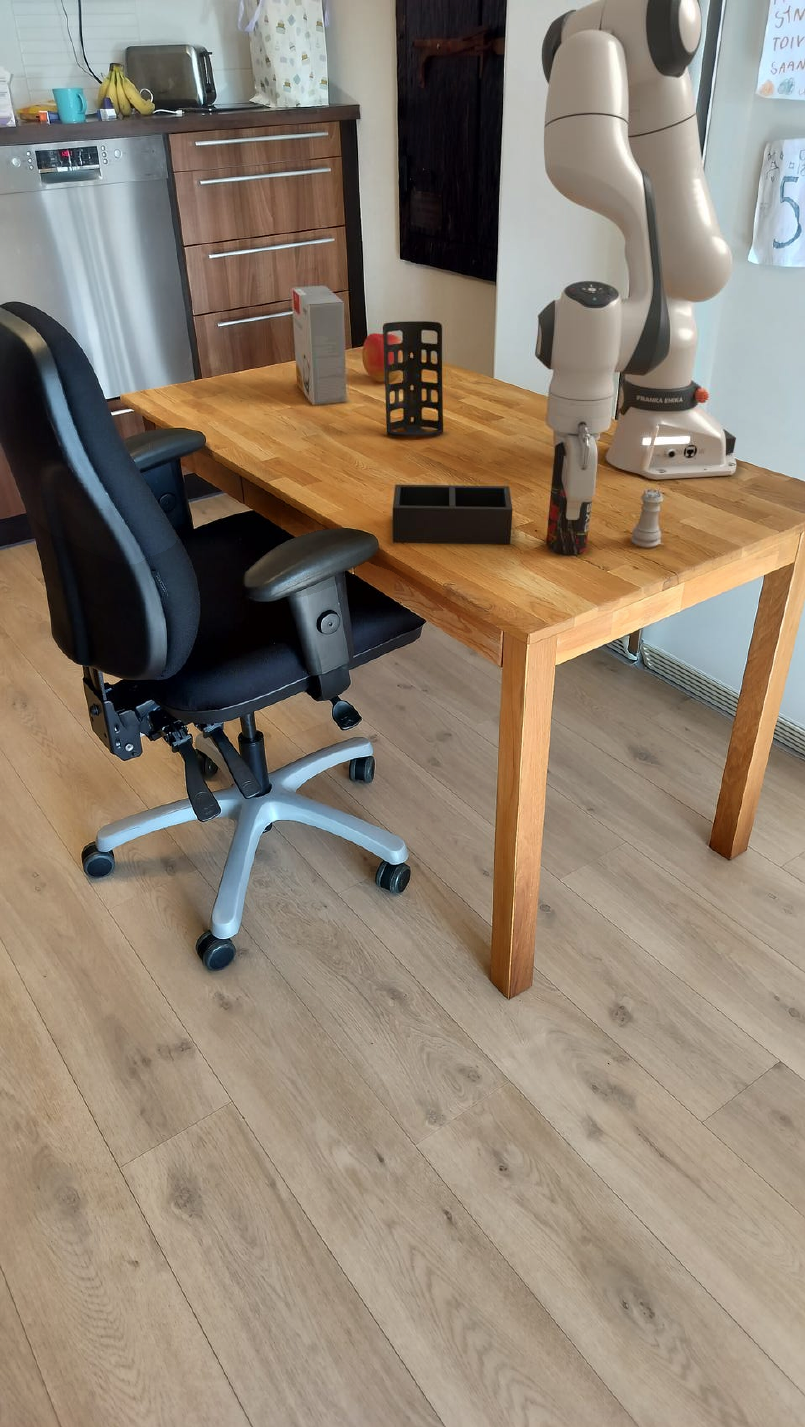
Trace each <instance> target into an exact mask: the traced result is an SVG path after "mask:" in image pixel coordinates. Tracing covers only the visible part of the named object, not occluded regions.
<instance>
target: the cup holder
mask: <svg viewBox="0 0 805 1427" xmlns="http://www.w3.org/2000/svg"><path fill="white" fill-rule="evenodd" d="M393 490H394V492H393V501H392V543H393V544H434V545H435V544H437V545H442V544H443V545H492V546H495V545H497V546H499V545H501V546H511V539H512V524H513V512H514V511H513V510H514V509H513V504H512V503H513V502H512V497H511V488H510V486H509V485H466V484H465V485H462V484H461V485H460V484H458V485H456V484H453V485H451V484H443V485H442V484H397V483H396V484H394V489H393Z"/></svg>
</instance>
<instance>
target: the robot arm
mask: <svg viewBox="0 0 805 1427" xmlns="http://www.w3.org/2000/svg"><path fill="white" fill-rule="evenodd" d="M702 17H703V16H702V10H701V4H700V0H597V1H593V2H592V3H589V4H587V5H585V6H582V7H581V8H579V9H571V10H568V11H567V12H564V13H563V14H561V15H560V16H558V17H556V19H554V20H553V21H552V22H551V23H550V25H549V27H548V29H547V31H546V33H545V36H544V38H543V41H542V45H541V65H542V71H543V75H544V78H545V80H546V82H547V84H548V86H547V93H546V94H547V95H546V102H545V112H544V124H543V125H544V128H543V131H544V132H543V155H544V157H543V158H544V168H545V172H546V175H547V177H548V180H549V181H550V183H551V184H552V185H553V187H554V188H555V189H556V190H557V191H558V193H560V194H561V195H562V196H564V197H565V198H566V199H567V200H569V201H570V202H572V203H574V204H575V205H578V206H580V207H582V208H584V209H587V210H589V211H592V212H594V213H596V214H598V215H601V216H602V217H604V218H606V219H607V220H609V221H610V222H612V223H613V224H614V225H615V226H616V227H617V228H618V229H619V230H620V231H621V234H622V235H623V238H624V242H625V244H624V258H625V262H626V266H627V272H628V294H629V297H627V298H621V293H620V292H619V290H617V288H616V287H614V286H612V285H611V284H609V283H608V284H607V283H604V282H602V281H597V280H596V281H595V280H583V281H577V282H573V283H570V284H569V285H567V286H566V287H565V288H564V289H563V290H562V292H561V294H560V297H559V299H553V300H552V301H551V302H549V303H548V304H547V305H546V306H545V307H544V308H543V309H542V310H541V311H540V313H539V314H538V315H537V323H538V324H537V335H536V336H537V337H536V344H535V350H534V356H535V358H536V359H538V361H539V362H540V363H541V364H542V365H543V366H544V367H545V368H546V369H548V370H549V371H550V370H551V371H552V376H551V379H550V383H549V386H548V392H547V405H546V417H545V424H546V427H548V428H549V429H550V430H552V433H553V434H552V437H553V438H552V439H553V440H552V441H553V452H554V453H555V446H556V445H557V444H559V443H562V442H563V445H564V448H565V451H566V456H564V461H563V469H562V483H563V487H564V491H565V494H566V498H567V504H566V512H565V514H566V518H567V519H568V520H577V519H578V518H579V513H580V507H581V504H582V502H591V501H592V502H593V500H594V497H595V491H596V483H597V470H598V469H597V468H598V454H597V448H598V445H597V443H596V442H597V441H599V440H600V438H601V433H604V432H606V431H608V430H609V429H610V428H611V425H612V417H613V408H614V399H615V391H616V390H615V382H614V375H615V373H619V374H621V375H624V376H623V378H622V380H621V386H620V389H619V397H618V406H617V407H618V412H619V413H618V419H617V421H616V425H615V429H614V433H613V436H612V440H611V442H610V445H609V448H608V450H607V452H606V454H605V460H606V461H607V462H608V463H609V464H610V465H612V466H613V467H615V468H617V469H619V470H622V471H625V472H630V473H633V474H638V475H641V476H643V477H645V478H647V479H650V480H656V481H657V480H673V479H675V480H676V479H688V478H705V477H708V478H709V477H724V476H732V475H734V474H735V473H736V471H737V461H736V458H735V457H734V455H733V454H734V452H735V446H736V441H737V437H736V436H734V435H733V434H731V433H730V432H729V431H727V430H726V429H724V428H723V426H722V425H721V424H720V423H719V421H717V420H716V419H715V418H714V417H713V416H712V415H711V414H710V413H709V412H708V411H707V410H706V409H705V408H704V407H702V406H701V405H700V404H705V403H707V401H709V399H710V393H708V391H707V390H706V389H705V388H704V387H703V388H702V386H701V385H700V384H698V383H697V382H695V381H694V380H692V379H693V373H694V367H695V361H696V354H697V349H698V344H699V330H698V325H697V322H696V315H695V306H694V305H695V303H704V302H706V301H709V300H711V299H713V298H715V297H716V296H718V295H719V293H721V291H723V289H724V288H725V286H726V285H727V284H728V281H729V280H730V278H731V275H732V271H733V262H734V261H733V254H732V251H731V248H730V247H729V245H728V243H727V242H726V239H725V237H724V236H723V233H722V230H721V227H720V224H719V219H718V215H717V212H716V209H715V206H714V203H713V198H712V196H711V193H710V189H709V186H708V183H707V182H708V181H707V179H706V175H705V170H704V166H703V165H704V164H703V159H702V158H703V156H702V150H701V142H700V134H699V125H698V118H697V117H698V116H697V109H696V108H697V107H696V101H695V93H694V89H693V88H694V87H693V83H692V79H691V75H690V71H689V67H688V66H689V65H691V63H692V62H693V59H694V58H695V56H696V54H697V52H698V50H699V48H700V44H701V40H702V31H703V20H702ZM699 403H700V404H699ZM554 453H553V454H554ZM582 468H583V469H585V468H586V469H585V470H582Z"/></svg>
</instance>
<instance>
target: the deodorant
mask: <svg viewBox="0 0 805 1427" xmlns="http://www.w3.org/2000/svg"><path fill="white" fill-rule="evenodd" d="M598 454H599V449H598V447H597V455H598ZM564 456H566V451H565V448H564V445H563V442H562V443H559V444H557V445H556V446H555V453H553V464H552V475H551V486H550V497H549V507H548V519H547V530H546V538H545V548H546V550H547V551H549V552H551V553H552V554H554V555H559V556H567V557H572V556H579V555H582V554H584V553H585V552H586V550H587V545H588V537H589V531H590V530H589V529H590V520H591V512H592V505H593V504H592V503H593V500H592V501H591V502H582V504H581V507H580V513H579V518H578V519H577V520H568V519H567V518H566V514H565V512H566V504H567V498H566V494H565V491H564V487H563V483H562V469H563V461H564ZM585 469H586V468H585ZM585 469H583V468H582V470H585Z"/></svg>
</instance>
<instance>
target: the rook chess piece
mask: <svg viewBox="0 0 805 1427" xmlns="http://www.w3.org/2000/svg"><path fill="white" fill-rule="evenodd" d="M640 499H641V501H642V505H641V506H640V509H641V513H640V517H639V520H638V523H637V524H636V525H635V527H634V528H633V529H632V531H631V535H632V536H630V541H631V543H632V544H633V545H635V546H636V547H639V548H642V549H654V548H656V547H658V545H660V544H661V543H662V539H661V537H662V532H661V530H660V526H659V512H660V510H661V507H660V504H661V503H662V502H663V501H664V496H663V493H662V490H659V489H657V488H654V489H653V491H652V488H647V489H644V491H643V494H642V495H641V496H640Z"/></svg>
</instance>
